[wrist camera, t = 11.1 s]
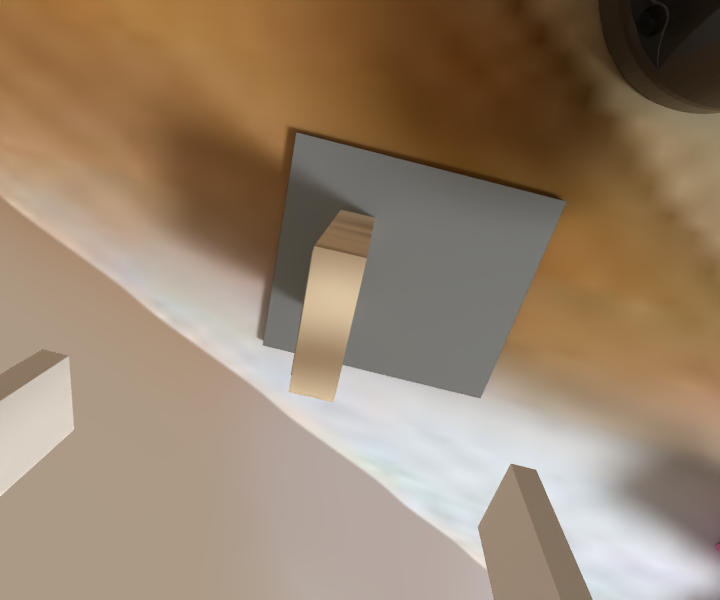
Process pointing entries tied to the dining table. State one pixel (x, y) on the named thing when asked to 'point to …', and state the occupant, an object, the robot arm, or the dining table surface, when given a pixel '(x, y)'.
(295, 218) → the mat
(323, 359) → the wooden block
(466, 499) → the dining table surface
